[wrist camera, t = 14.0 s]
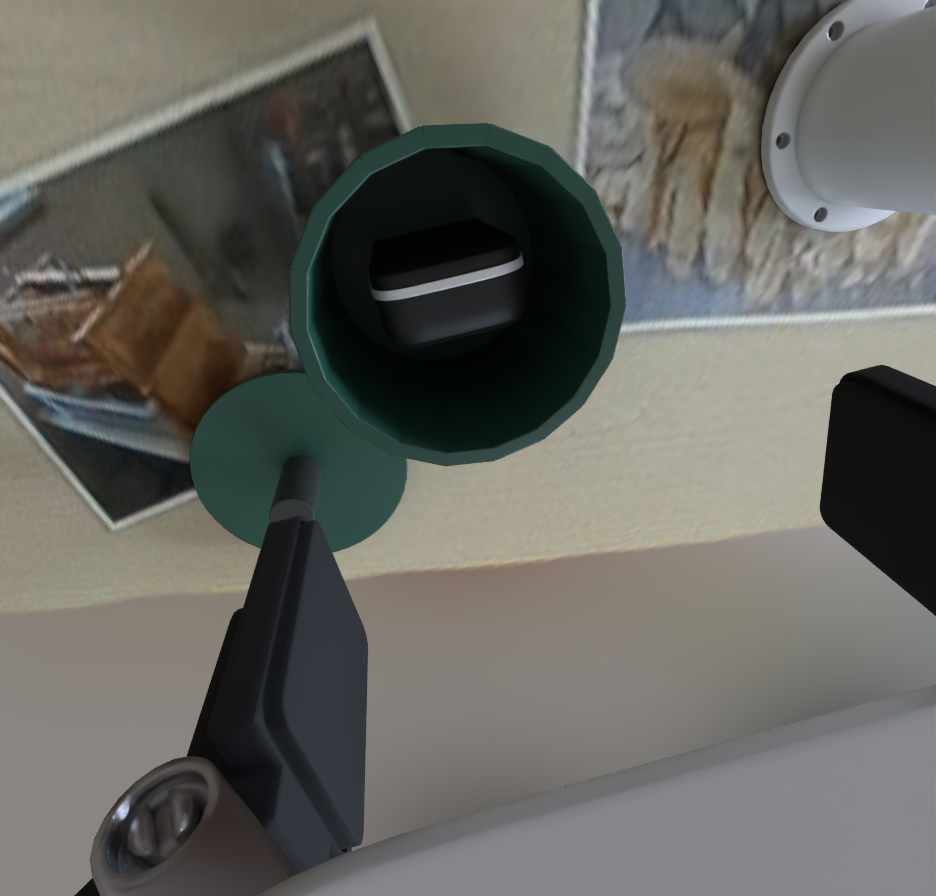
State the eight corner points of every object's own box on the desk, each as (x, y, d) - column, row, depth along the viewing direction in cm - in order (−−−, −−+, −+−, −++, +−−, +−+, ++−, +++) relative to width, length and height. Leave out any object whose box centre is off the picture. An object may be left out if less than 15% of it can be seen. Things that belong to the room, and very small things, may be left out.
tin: (520, 108, 31) (609, 79, 19) (554, 339, 38) (636, 424, 26) (285, 166, 31) (229, 173, 19) (359, 389, 37) (352, 498, 26)
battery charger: (384, 306, 35) (388, 368, 25) (366, 242, 33) (363, 280, 23) (494, 279, 35) (542, 330, 25) (483, 215, 33) (530, 241, 23)
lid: (373, 342, 36) (373, 378, 30) (427, 518, 43) (436, 575, 37) (155, 397, 36) (112, 445, 30) (245, 566, 42) (224, 632, 37)
